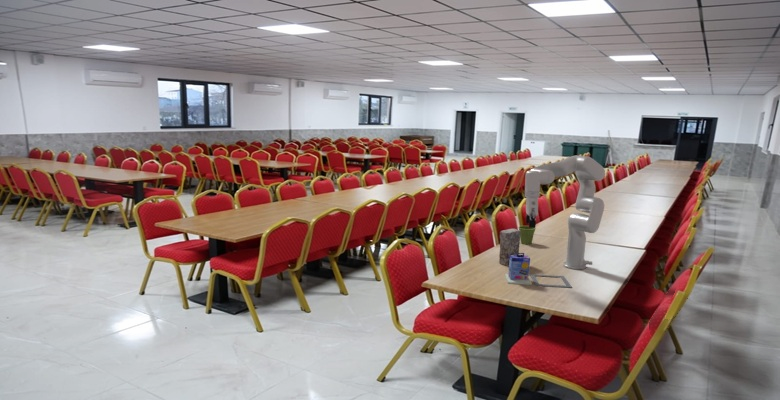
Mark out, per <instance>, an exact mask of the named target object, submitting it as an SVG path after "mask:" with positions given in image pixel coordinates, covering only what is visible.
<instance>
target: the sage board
mask: <svg viewBox="0 0 780 400" xmlns="http://www.w3.org/2000/svg"><path fill="white" fill-rule="evenodd" d="M508 275H509V273H504V277H505V279H506V282H507V284H510V285H511V284H512V285H527V286H532V283H533V282H532V281H531V279H530V277H529V276H528V280H513V279H510V278H509V276H508Z"/></svg>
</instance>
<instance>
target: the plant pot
mask: <svg viewBox="0 0 780 400" xmlns="http://www.w3.org/2000/svg"><path fill="white" fill-rule="evenodd" d="M536 229H537V227H535V228H529V225H519V226H518V230H520V232H521V235H520V244H523V245H532V243H533V240H534V236H535V235H534V234H535V232H536Z"/></svg>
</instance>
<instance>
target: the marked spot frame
mask: <svg viewBox="0 0 780 400" xmlns="http://www.w3.org/2000/svg"><path fill="white" fill-rule="evenodd" d="M529 275H530V278H531V279H532V281H533V282H534V285H535V287H550V288H551V287H552V288H568V289H572V288H573V287H572V285H571V283H570V282H569V281H568V280H567V278H566V277H565V276H564V275H554V274H552V275H551V274H539V273H538V274H537V273H536V274H534V273H533V274H532V273H529ZM537 277H541V278H542V277H545V278H558V277H561V281H562V282H563V283H564V285H562V284H561V285H560V284H548V283H547V284H546V283H539V281H538V279H537Z"/></svg>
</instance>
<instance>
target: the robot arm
mask: <svg viewBox="0 0 780 400" xmlns="http://www.w3.org/2000/svg"><path fill="white" fill-rule="evenodd" d="M572 173H575V176H576V177H577V180H578V183H579V189H578V193H577V196H576V201H575V206H574V207H575V209H576V210H577V211H579V212H580V213H579V212H573V213H572V214H570V215H569V216H568V218H567V225H568V238H567V239H568V240H567V247H566V248H567V249H566V250H567V251H566V258H565V259H566V260H565V261H564V262H563V264H562V265H563V267H566V268H568V269H572V270H585V269H586V268H587V265H591V266H592V265H593V261H589V260H585V252H586V242H587V236H586V233H589V234H595V233H596V232H597V231H598V230H599V228H600V225H601V222H602V217H603V214H604V211H605V203H604V200H603V199H601V198H599V197H598V196H597V197H596V196H595V194H596V184H595V182H599V181H602V180H603V179H604V178H605V177H606V170H605V168H604V166H602V165H601V164H600V163H599V162H597V160H595V159H594V158H592V157H590V156H587V155H585V156H583V155H572V156H569V157H566V158H564V159H561V160H559V161H555V162H551V163H545V164H544V163H543V164H541V165H537V166H535V167H533V168H531V169H529V170H527V171H525V181H524V182H525V183H524V184H525V185H524V198H526V199H525V200H526V201H525V212H526V216H525V224H528V226H529V228H536V226H537V225H536V221H537V217H538V215H539V198H540V191H541V190H540V189H541V184H542V185H549V184H551V183H553V182H554V180H555V178H557V177H558V178H559V177H566V176H567V175H570V174H572ZM594 181H595V182H594ZM583 213H584V214H583ZM585 213H587V214H585ZM588 214H589V215H588Z"/></svg>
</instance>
